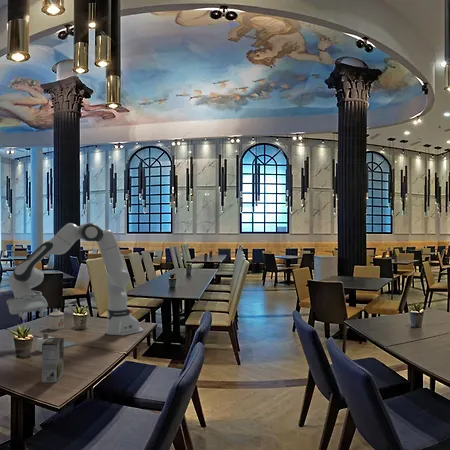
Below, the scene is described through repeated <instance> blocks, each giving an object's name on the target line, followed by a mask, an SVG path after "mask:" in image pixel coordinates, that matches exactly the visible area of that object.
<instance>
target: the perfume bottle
mask: <svg viewBox="0 0 450 450" xmlns="http://www.w3.org/2000/svg"><path fill="white" fill-rule="evenodd" d="M49 334H50V333H49V332H43V333H42V335H43V336H42V337H38V338H36V351H38V352H41V353H42V344H43V343H44V342H45V341H46V340H47V339H49V338H54V336H53V337H52V336H49Z"/></svg>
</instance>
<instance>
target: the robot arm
mask: <svg viewBox="0 0 450 450" xmlns="http://www.w3.org/2000/svg"><path fill="white" fill-rule="evenodd" d="M78 240H83V241H85V242H96V243H97V245H98V248H99V252H100V255H101V259H102V261H103V264H104V265H105V268H106V271H107V273H106V284H107V294H108V296H107V297H108V308H107V315H106V316H107V324H106V329H105V334H106V335H111V336H126V335H127V336H128V335H130V334H131V335H132V334H136V333H142V332H143V331H144V329H143V327H141V326H140V322H139V320H138V319H137V318H135V317H134V316H133V315H131V314H133V312H134V311H133V309H129V308H128V294H127V289H126V287H127V286H128V285H129V284H130V282H131V276H130V274H129V271H128V268H127V266H126V264H125V262H124V259H123V257H122V253H121V249H120V247H119V244H118V241H117V238H116V236H115V234H114V232H113V231H112V230H110V229H101V228H100V226H99V225H97V224H96V223H93V222H86V223H83V224H81V225H77V224H75V223H73V222H68V223H66V224H65V225H64V226H62V227H61V228H60V229H59V231H58V232H57V233H55V235H54V236H53V237H52V238H50V239H49V240H47V241H45V242H43V243H42V244H41V245H39V246H38V247H37V248H36V249H35V250H34V251H33V252H32V253H30V255H28V256H27V257H26V258H25V259H24V260H22V261H21V262H19V263H18V264H16V266H15V267H14V269H13V272H12V273H10V275H9V277H8V284H9V287H10V289H11V292H12V293H13V298H8V299H7V300H6V302H5V303H6V305H7V307H8V311H9V314H11V315H18V316H19V317H20V318H21V319H22V320H26V319H27V315H26V314H27V313H33V312H38V316H39V318H41V317H44V313H43V312H44V311H45V310H46V309H47V308H48V306H49V304H48V302H47V299H46V298H45V297H44V296H43V292H41V291H37V290H34V288H36V287H37V286H39V285H41V284H42V283H43V281H44V278H45V274H44V272H43V271H42V270H41V269H39V268H37V267H36V266H37V265H38V264H39V263H41V261H42V260H43V259H44V258H45V257H47V256H49V255H50V256H51V255H58V256H59V255H64V254H66V253H67V252H68V251H69V250H70V249H71V248H72V246H73V245H74V244H75V243H76V242H77V241H78ZM24 313H25V314H24Z"/></svg>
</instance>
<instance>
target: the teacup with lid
mask: <svg viewBox="0 0 450 450" xmlns="http://www.w3.org/2000/svg"><path fill="white" fill-rule="evenodd" d="M64 318H65V313H64V312H62V311H59V309H55V310H54V311H52V312H50V313H49V314H48V329H49V330H53V331H54V330H56V331H57V330H61V329H64V325H65V322H64V321H65V319H64Z"/></svg>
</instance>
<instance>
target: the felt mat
mask: <svg viewBox="0 0 450 450" xmlns="http://www.w3.org/2000/svg"><path fill="white" fill-rule="evenodd" d="M77 345H78V343H76V342H72V341H69V340H66V341H65V340H64V348H68V347H72V346H77Z"/></svg>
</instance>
